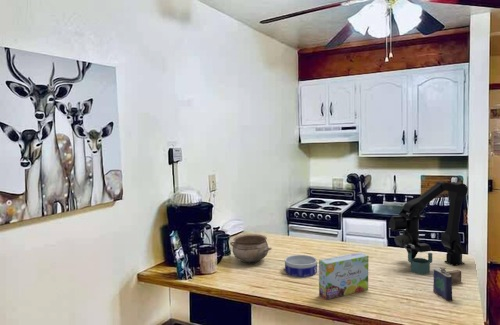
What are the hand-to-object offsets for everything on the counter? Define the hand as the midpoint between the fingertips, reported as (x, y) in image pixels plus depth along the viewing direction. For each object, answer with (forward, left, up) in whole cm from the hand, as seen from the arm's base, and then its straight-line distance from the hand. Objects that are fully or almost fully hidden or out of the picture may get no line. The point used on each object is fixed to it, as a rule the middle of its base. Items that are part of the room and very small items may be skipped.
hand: (411, 260), depth 184 cm
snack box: (+45, +14, -3) cm, 47 cm away
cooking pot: (+69, -38, -3) cm, 79 cm away
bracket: (0, +5, -3) cm, 6 cm away
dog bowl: (+51, -15, -4) cm, 53 cm away
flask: (+11, +31, -3) cm, 33 cm away
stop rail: (0, +22, -3) cm, 22 cm away
